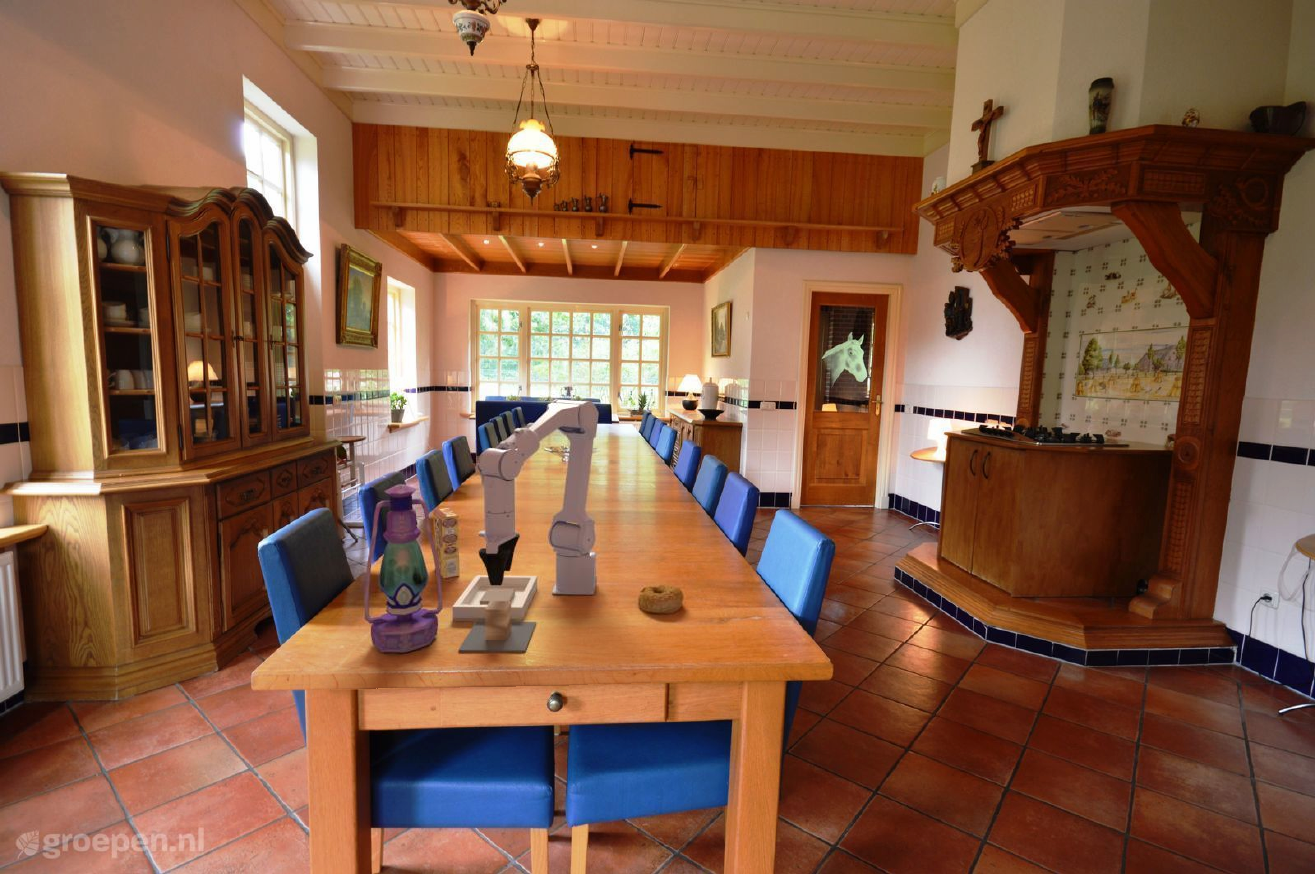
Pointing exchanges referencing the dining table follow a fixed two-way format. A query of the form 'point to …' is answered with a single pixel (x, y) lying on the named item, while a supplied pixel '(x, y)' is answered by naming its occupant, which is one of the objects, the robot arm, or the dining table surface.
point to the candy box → (446, 541)
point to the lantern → (402, 577)
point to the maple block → (498, 620)
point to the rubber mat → (514, 643)
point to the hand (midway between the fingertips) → (500, 577)
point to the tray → (495, 597)
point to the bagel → (661, 599)
